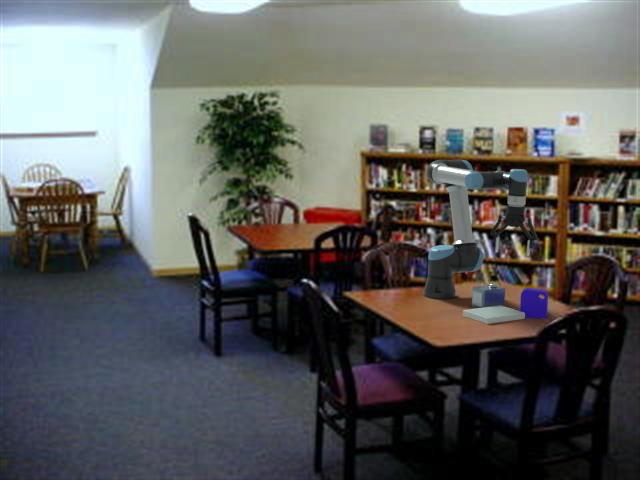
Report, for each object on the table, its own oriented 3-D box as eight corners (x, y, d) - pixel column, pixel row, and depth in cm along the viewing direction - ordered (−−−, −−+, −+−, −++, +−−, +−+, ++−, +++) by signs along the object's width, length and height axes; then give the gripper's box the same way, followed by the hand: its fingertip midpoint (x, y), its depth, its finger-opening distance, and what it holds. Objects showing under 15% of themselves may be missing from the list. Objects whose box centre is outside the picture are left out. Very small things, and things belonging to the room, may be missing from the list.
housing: (470, 306, 379) (471, 284, 378) (491, 304, 386) (493, 282, 384) (482, 310, 373) (483, 287, 371) (504, 307, 379) (505, 285, 377)
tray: (462, 315, 361) (463, 309, 361) (500, 311, 372) (500, 305, 371) (486, 323, 348) (487, 317, 348) (524, 318, 359) (525, 312, 359)
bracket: (545, 319, 359) (547, 292, 358) (519, 316, 363) (521, 289, 361) (550, 310, 376) (552, 284, 374) (525, 307, 380) (526, 282, 378)
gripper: (485, 203, 368) (481, 251, 371) (543, 209, 357) (539, 258, 361) (489, 201, 374) (486, 249, 378) (547, 207, 364) (543, 255, 368)
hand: (512, 253), depth 370 cm, fingers open, 13 cm apart
